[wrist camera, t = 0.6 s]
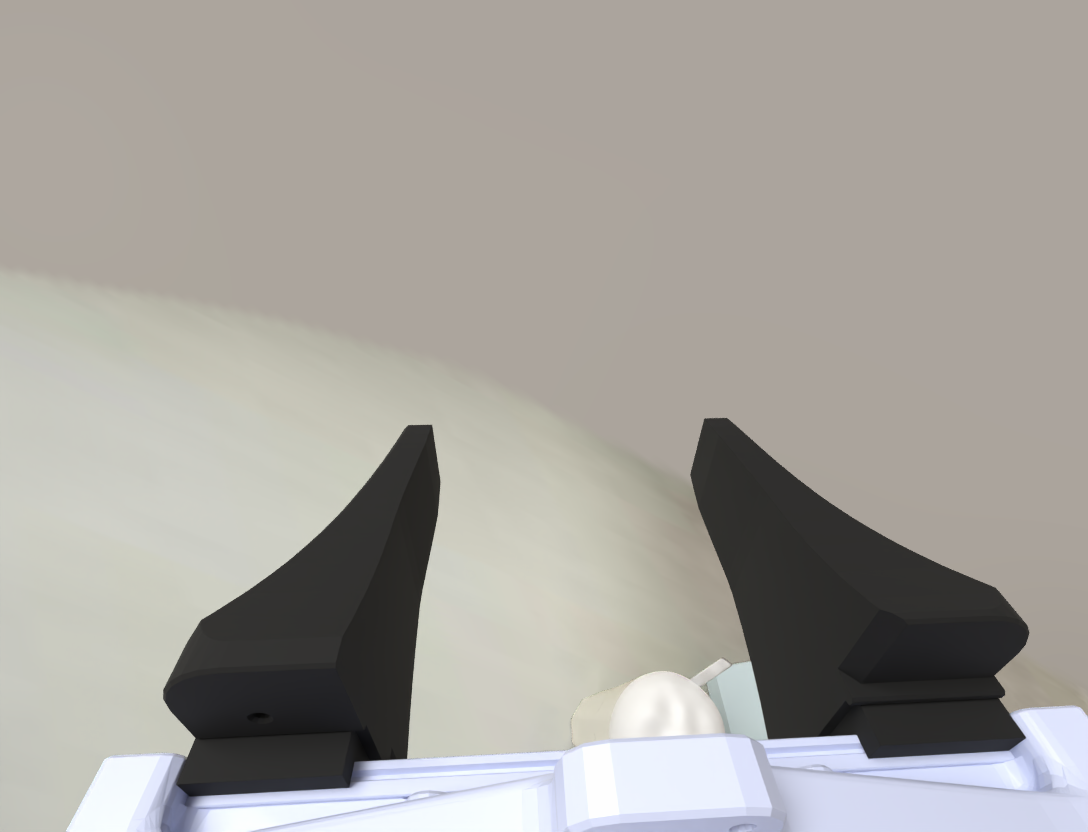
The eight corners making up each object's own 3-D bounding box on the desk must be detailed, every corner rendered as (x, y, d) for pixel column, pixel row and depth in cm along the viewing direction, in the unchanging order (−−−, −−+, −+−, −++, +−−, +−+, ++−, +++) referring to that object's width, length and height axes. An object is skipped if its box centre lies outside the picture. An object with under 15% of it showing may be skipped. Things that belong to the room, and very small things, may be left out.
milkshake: (666, 700, 28) (781, 700, 19) (616, 806, 25) (724, 863, 16) (595, 645, 28) (676, 622, 20) (539, 744, 25) (604, 766, 17)
